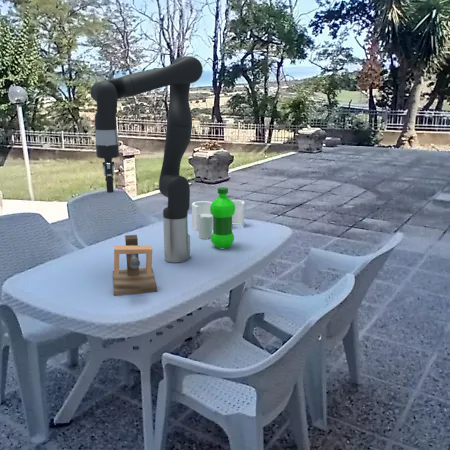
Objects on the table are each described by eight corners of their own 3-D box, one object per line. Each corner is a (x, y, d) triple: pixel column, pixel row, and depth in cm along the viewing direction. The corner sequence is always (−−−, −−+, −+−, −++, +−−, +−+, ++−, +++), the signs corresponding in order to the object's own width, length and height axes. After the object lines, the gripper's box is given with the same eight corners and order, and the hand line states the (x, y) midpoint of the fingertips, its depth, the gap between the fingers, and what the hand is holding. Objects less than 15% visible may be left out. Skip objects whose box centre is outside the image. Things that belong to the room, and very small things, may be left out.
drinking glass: (210, 240, 209) (210, 218, 206) (196, 239, 210) (195, 217, 207) (214, 235, 215) (214, 214, 212) (199, 234, 216) (199, 213, 214)
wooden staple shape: (150, 269, 161) (151, 245, 159) (151, 273, 157) (152, 249, 155) (113, 269, 158) (114, 245, 156) (114, 274, 154) (114, 249, 152)
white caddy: (240, 223, 235) (241, 199, 231) (246, 228, 226) (246, 203, 222) (190, 226, 229) (190, 201, 226) (193, 232, 220) (193, 206, 217)
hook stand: (113, 274, 171) (110, 234, 167) (152, 271, 174) (150, 232, 170) (114, 302, 149) (111, 257, 145) (159, 298, 152) (157, 254, 148)
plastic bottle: (235, 243, 205) (236, 186, 198) (233, 251, 195) (234, 191, 188) (212, 242, 206) (212, 185, 199) (209, 250, 196) (208, 191, 189)
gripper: (96, 140, 168) (99, 186, 172) (95, 145, 154) (98, 194, 159) (117, 140, 169) (120, 185, 174) (118, 145, 156) (121, 193, 161)
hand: (110, 189), depth 167 cm, fingers open, 8 cm apart
